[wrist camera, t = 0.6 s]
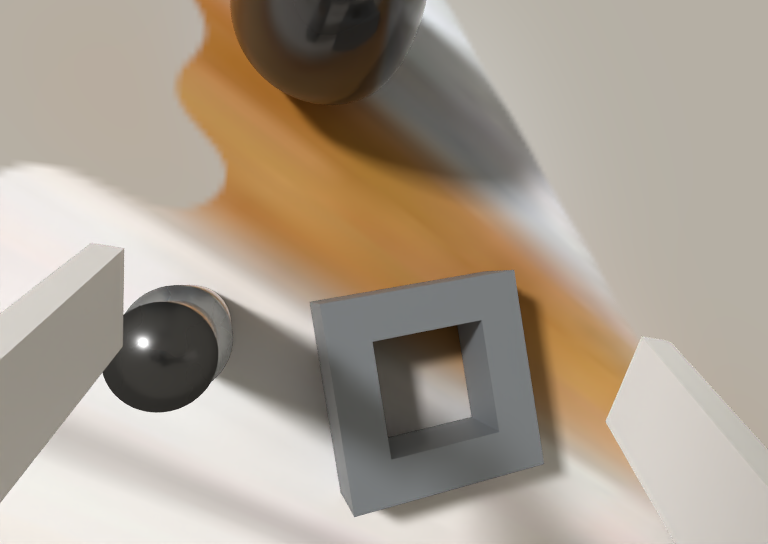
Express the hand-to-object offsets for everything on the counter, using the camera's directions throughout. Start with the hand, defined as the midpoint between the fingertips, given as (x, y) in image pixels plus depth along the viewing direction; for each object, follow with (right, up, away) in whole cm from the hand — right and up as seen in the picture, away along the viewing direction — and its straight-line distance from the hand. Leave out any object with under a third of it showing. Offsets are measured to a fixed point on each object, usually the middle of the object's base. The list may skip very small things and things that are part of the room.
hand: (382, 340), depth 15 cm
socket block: (+2, -5, +23) cm, 23 cm away
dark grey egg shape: (-4, +16, +22) cm, 27 cm away
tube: (-11, -1, +19) cm, 22 cm away
